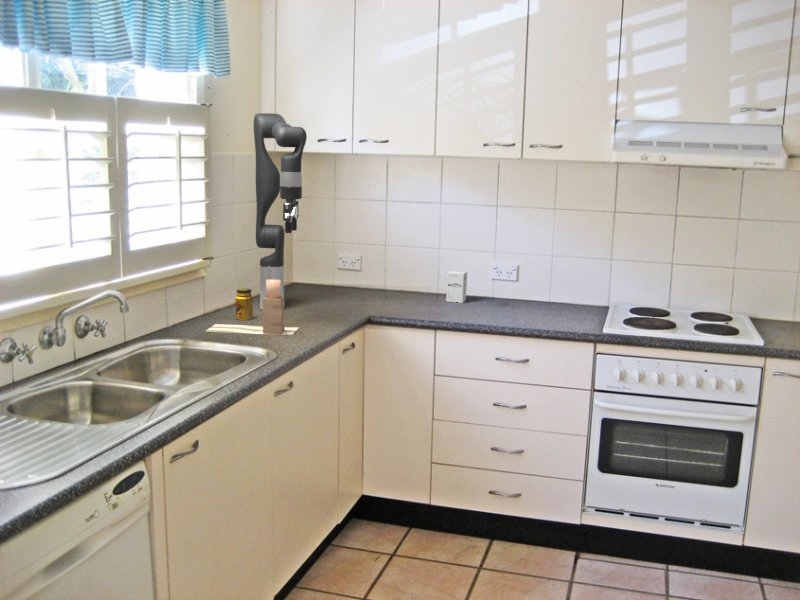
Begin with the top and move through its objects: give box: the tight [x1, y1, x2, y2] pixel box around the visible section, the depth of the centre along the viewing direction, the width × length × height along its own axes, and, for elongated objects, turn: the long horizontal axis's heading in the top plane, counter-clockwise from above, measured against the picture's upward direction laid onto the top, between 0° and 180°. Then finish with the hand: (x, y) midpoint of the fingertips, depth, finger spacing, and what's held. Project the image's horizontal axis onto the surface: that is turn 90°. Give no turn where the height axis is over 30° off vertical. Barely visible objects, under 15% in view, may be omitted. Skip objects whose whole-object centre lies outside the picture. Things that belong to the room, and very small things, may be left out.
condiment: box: [235, 288, 254, 322], centre depth 308 cm, size 7×8×12 cm
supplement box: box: [445, 270, 468, 304], centre depth 357 cm, size 7×7×13 cm
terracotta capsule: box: [266, 279, 281, 299], centre depth 286 cm, size 5×5×6 cm
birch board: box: [205, 323, 299, 336], centre depth 292 cm, size 12×30×1 cm, turn 85°
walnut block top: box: [262, 295, 285, 317], centre depth 287 cm, size 6×6×6 cm
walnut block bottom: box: [262, 313, 285, 335], centre depth 288 cm, size 6×6×6 cm
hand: (291, 231), depth 296 cm, fingers open, 8 cm apart
